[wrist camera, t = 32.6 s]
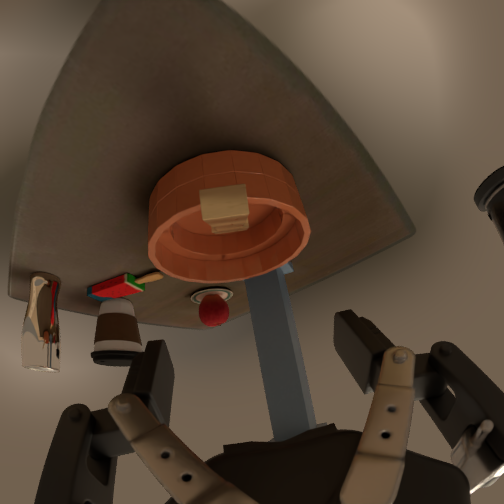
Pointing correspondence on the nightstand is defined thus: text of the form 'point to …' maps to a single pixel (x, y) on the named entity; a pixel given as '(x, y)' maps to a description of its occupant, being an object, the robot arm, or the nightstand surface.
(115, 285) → the popsicle
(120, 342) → the coffee cup
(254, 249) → the bowl
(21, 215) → the nightstand surface
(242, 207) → the stick
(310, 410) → the stand
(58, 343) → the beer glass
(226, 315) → the apple
